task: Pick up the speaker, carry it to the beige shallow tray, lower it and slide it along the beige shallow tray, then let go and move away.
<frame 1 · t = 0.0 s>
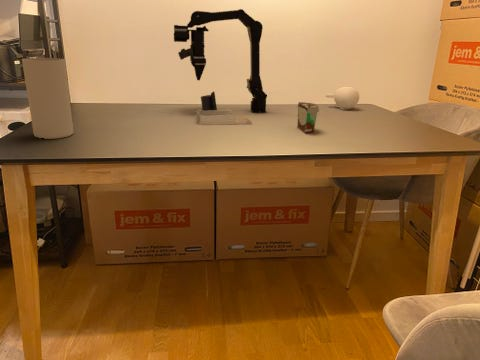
hand: (197, 79, 178), 15 cm above the table, tool pointing down, fingers open, 9 cm apart
speaker: (209, 115, 177), on the table
food container: (308, 131, 154), on the table
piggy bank: (343, 108, 203), on the table
beige shallow tray: (219, 121, 165), on the table
cylinder vase: (54, 135, 137), on the table
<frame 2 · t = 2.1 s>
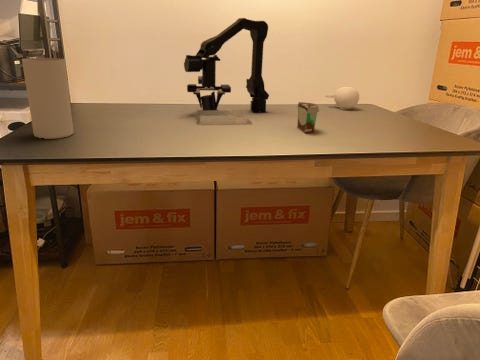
hand: (208, 108, 176), 3 cm above the table, tool pointing down, fingers open, 6 cm apart
speaker: (209, 115, 177), on the table, touching gripper
everything else where it was.
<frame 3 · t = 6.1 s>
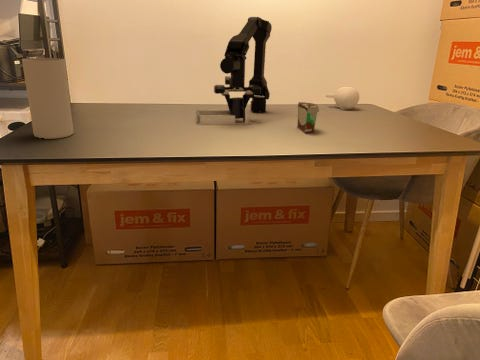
hand: (236, 110, 165), 4 cm above the table, tool pointing down, fingers closed on speaker, 5 cm apart
speaker: (236, 119, 166), point 1 cm above the table, touching gripper
everything else where it was.
when the fingers open (4 cm above the table, at t = 9.0 s): speaker stays where it is, resting on beige shallow tray.
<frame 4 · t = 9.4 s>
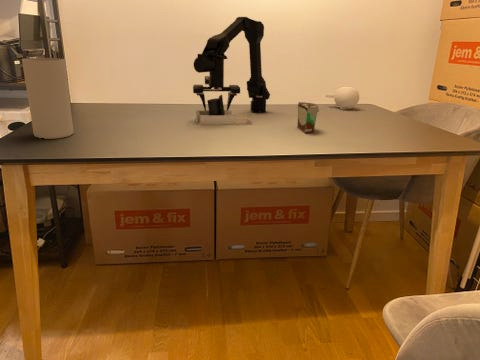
hand: (216, 110, 163), 4 cm above the table, tool pointing down, fingers open, 9 cm apart
speaker: (216, 120, 165), resting on beige shallow tray
everything else where it was.
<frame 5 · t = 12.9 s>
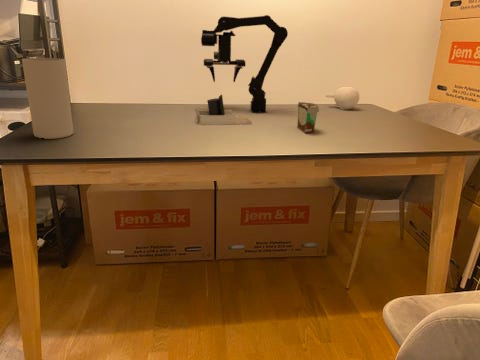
hand: (224, 82, 185), 13 cm above the table, tool pointing down, fingers open, 9 cm apart
nothing on the table moved.
at the end: speaker inside the target area on the beige shallow tray (1.5 cm from its centre), point 0.3 cm above the beige shallow tray's base; speaker tilted 1°; the gripper is holding nothing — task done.
